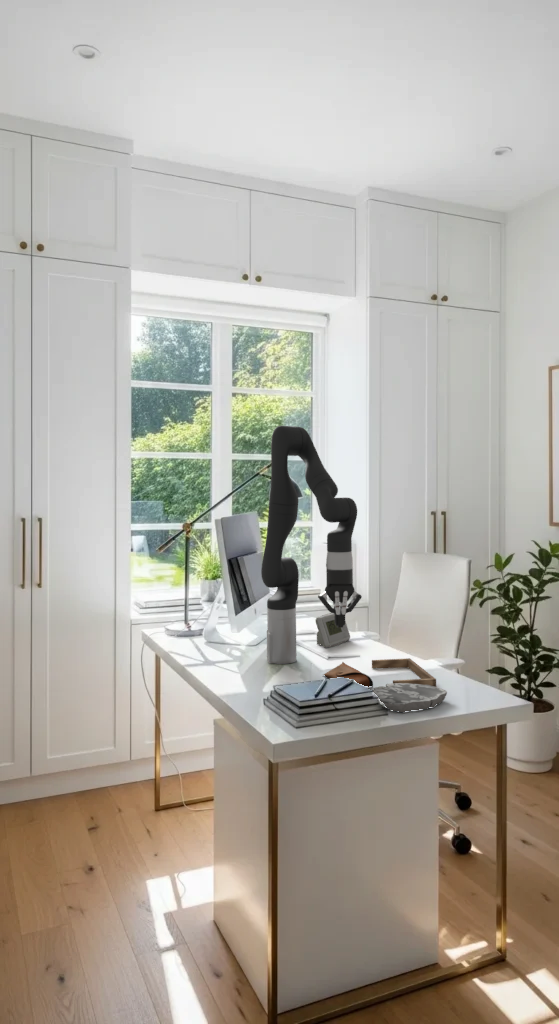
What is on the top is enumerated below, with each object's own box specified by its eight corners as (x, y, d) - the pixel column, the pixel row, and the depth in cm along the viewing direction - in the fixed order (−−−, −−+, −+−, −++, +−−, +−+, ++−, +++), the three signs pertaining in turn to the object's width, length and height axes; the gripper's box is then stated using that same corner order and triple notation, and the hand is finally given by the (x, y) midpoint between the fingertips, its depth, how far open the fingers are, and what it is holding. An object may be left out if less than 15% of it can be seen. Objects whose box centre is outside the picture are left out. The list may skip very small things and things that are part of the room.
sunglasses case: (319, 674, 211) (329, 654, 212) (337, 684, 213) (347, 664, 214) (346, 691, 194) (357, 669, 195) (366, 701, 196) (376, 679, 197)
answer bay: (393, 690, 194) (393, 681, 194) (371, 668, 218) (371, 660, 218) (436, 688, 196) (436, 679, 196) (409, 666, 219) (409, 658, 219)
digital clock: (325, 649, 244) (325, 618, 244) (307, 645, 251) (307, 615, 250) (357, 642, 255) (357, 612, 254) (339, 638, 261) (338, 609, 261)
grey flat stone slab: (407, 689, 196) (407, 678, 196) (456, 704, 182) (456, 692, 182) (355, 703, 184) (355, 692, 184) (404, 720, 171) (404, 708, 171)
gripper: (319, 569, 199) (320, 630, 200) (365, 568, 201) (365, 628, 202) (314, 566, 206) (314, 625, 207) (358, 565, 208) (359, 623, 209)
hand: (340, 626), depth 204 cm, fingers closed
